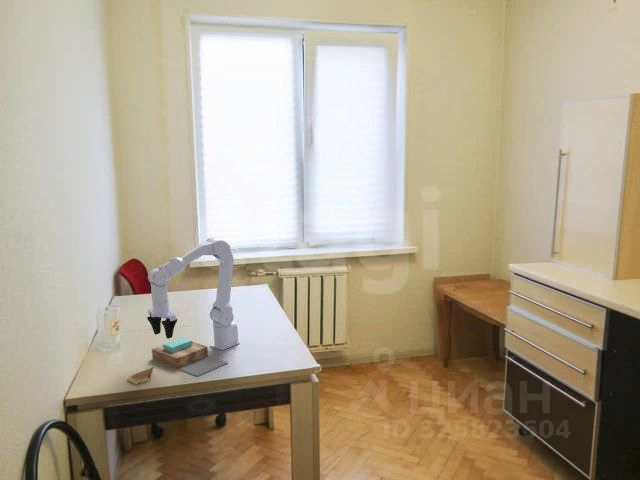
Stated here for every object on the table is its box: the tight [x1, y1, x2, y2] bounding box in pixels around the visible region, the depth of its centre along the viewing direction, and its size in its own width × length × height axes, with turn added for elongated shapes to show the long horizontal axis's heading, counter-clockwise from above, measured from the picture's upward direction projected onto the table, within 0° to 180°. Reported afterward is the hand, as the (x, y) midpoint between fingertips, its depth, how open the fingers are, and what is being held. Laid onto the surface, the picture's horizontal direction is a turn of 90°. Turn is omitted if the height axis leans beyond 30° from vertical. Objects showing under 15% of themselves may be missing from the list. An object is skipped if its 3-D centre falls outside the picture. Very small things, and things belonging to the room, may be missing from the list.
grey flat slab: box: [177, 355, 229, 378], centre depth 183 cm, size 14×11×1 cm
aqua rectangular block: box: [162, 337, 193, 353], centre depth 192 cm, size 9×6×2 cm, turn 141°
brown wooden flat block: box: [151, 341, 209, 370], centre depth 192 cm, size 14×16×4 cm
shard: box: [127, 366, 155, 385], centre depth 176 cm, size 11×8×2 cm
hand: (163, 335), depth 188 cm, fingers open, 7 cm apart
